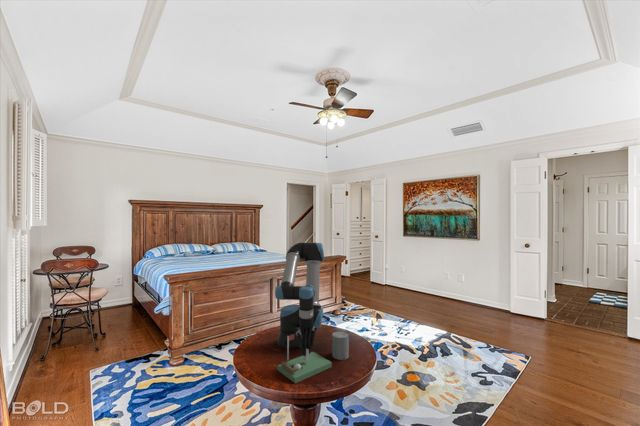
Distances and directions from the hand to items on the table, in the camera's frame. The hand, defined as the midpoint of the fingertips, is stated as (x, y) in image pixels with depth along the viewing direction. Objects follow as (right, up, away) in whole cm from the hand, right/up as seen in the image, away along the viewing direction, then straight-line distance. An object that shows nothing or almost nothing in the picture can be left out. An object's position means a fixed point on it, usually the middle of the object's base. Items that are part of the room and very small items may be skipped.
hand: (306, 360), depth 162 cm
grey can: (+19, -4, +14) cm, 24 cm away
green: (-1, -4, -1) cm, 4 cm away
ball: (-4, -2, -4) cm, 6 cm away
